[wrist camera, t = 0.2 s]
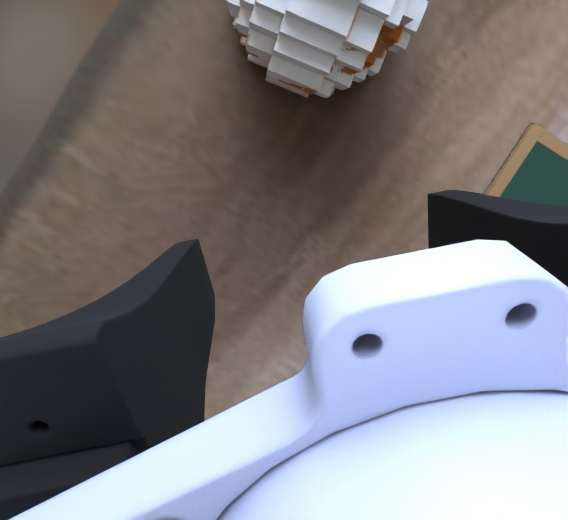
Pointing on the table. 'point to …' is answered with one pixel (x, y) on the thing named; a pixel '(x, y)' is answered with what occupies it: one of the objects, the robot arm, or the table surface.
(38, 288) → the table surface
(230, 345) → the table surface
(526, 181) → the desk mat
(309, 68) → the decorative ornament
